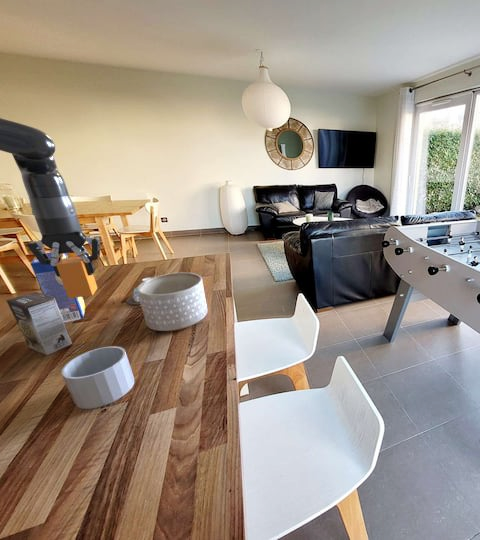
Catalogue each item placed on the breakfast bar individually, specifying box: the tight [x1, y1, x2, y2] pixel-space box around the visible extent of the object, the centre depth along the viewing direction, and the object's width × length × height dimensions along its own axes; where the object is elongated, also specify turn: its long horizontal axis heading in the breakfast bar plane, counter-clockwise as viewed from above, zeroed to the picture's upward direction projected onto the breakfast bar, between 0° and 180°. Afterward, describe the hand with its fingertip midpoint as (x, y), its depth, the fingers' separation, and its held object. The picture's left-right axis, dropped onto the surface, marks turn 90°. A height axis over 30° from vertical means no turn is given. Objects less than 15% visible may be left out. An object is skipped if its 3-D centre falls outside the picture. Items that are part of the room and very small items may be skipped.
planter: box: [136, 272, 209, 332], centre depth 99 cm, size 19×19×14 cm
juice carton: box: [56, 256, 98, 299], centre depth 79 cm, size 5×5×10 cm
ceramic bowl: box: [61, 345, 136, 410], centre depth 70 cm, size 11×11×9 cm
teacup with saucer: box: [126, 277, 152, 307], centre depth 114 cm, size 12×12×8 cm
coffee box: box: [5, 291, 73, 356], centre depth 83 cm, size 9×6×16 cm
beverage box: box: [30, 251, 86, 324], centre depth 98 cm, size 7×11×22 cm, turn 38°
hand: (77, 275), depth 78 cm, fingers closed on juice carton, 5 cm apart
